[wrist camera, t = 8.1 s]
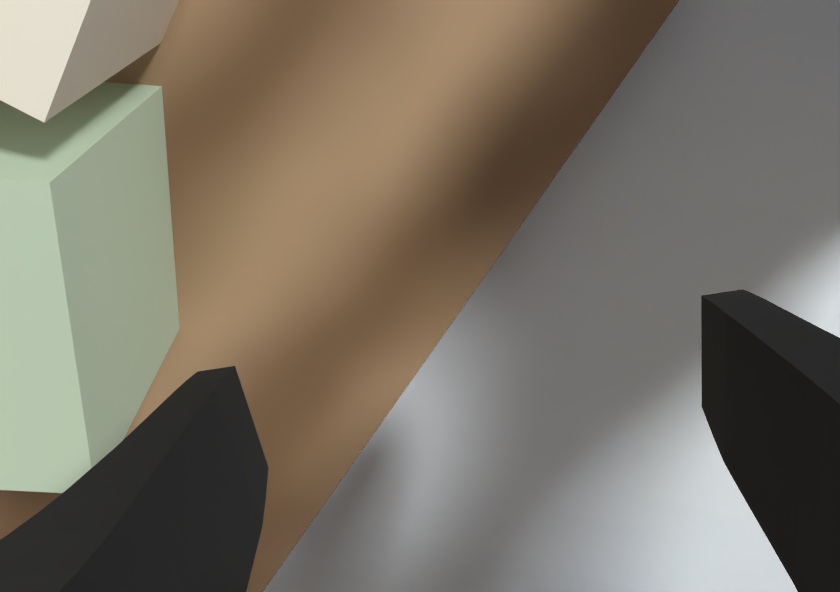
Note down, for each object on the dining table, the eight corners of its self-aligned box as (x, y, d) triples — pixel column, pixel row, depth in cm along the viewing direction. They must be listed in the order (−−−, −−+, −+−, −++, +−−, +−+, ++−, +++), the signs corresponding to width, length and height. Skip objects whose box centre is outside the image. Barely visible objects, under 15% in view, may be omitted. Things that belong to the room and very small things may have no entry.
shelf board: (675, -31, 19) (730, -10, 16) (243, 594, 28) (221, 688, 25) (-8, -511, 15) (-126, -619, 12) (-243, 405, 24) (-344, 488, 21)
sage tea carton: (161, 85, 18) (49, 182, 13) (179, 328, 22) (95, 494, 16) (-22, 72, 18) (-220, 164, 13) (22, 318, 21) (-121, 483, 16)
